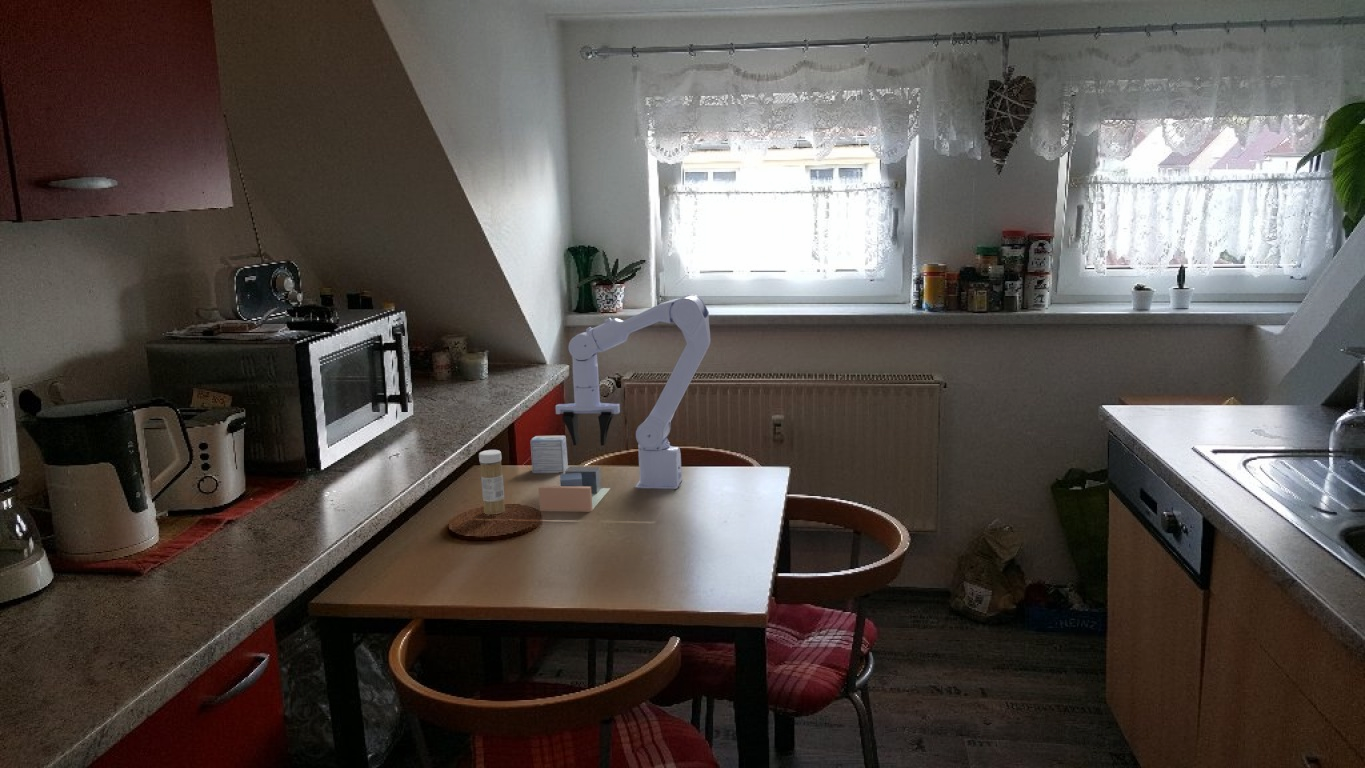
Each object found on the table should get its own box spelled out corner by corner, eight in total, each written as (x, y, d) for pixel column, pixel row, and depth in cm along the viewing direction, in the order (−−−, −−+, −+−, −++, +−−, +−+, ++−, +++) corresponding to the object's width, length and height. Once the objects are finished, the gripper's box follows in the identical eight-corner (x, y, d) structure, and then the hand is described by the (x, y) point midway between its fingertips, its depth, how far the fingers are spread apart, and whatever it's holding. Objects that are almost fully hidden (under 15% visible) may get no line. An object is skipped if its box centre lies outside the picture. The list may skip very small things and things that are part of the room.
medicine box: (568, 469, 238) (566, 435, 237) (564, 474, 234) (562, 439, 232) (536, 470, 239) (534, 435, 237) (532, 474, 235) (529, 439, 233)
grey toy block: (601, 488, 219) (600, 466, 218) (597, 493, 215) (595, 471, 214) (571, 488, 220) (570, 466, 219) (566, 493, 216) (565, 471, 216)
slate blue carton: (582, 499, 211) (581, 472, 210) (583, 506, 206) (581, 478, 205) (561, 501, 211) (560, 474, 210) (561, 507, 206) (560, 480, 205)
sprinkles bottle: (498, 509, 208) (494, 448, 205) (509, 513, 204) (505, 451, 202) (479, 514, 205) (474, 452, 203) (490, 518, 202) (485, 455, 199)
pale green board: (610, 489, 219) (609, 466, 218) (591, 513, 203) (589, 488, 202) (563, 489, 221) (561, 466, 220) (540, 512, 205) (538, 487, 204)
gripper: (621, 382, 223) (624, 440, 225) (560, 382, 225) (564, 440, 228) (614, 388, 216) (617, 447, 219) (551, 388, 219) (555, 447, 221)
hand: (589, 444), depth 223 cm, fingers open, 6 cm apart
